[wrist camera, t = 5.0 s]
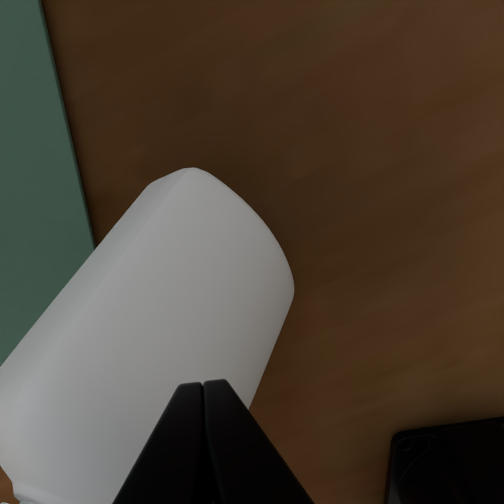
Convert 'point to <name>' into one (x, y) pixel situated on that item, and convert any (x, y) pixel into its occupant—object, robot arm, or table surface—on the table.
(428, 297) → the table surface
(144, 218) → the eye dropper bottle
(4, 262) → the mat
